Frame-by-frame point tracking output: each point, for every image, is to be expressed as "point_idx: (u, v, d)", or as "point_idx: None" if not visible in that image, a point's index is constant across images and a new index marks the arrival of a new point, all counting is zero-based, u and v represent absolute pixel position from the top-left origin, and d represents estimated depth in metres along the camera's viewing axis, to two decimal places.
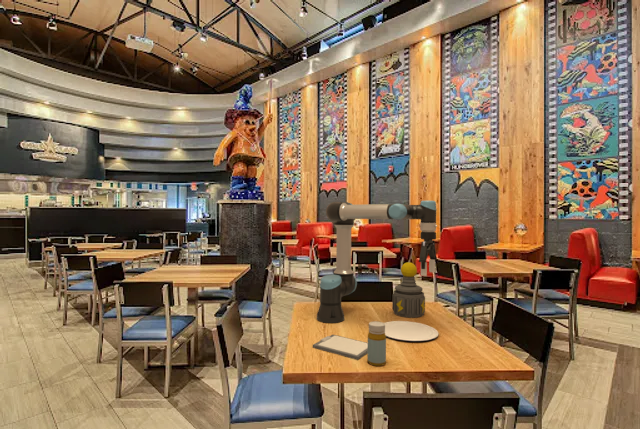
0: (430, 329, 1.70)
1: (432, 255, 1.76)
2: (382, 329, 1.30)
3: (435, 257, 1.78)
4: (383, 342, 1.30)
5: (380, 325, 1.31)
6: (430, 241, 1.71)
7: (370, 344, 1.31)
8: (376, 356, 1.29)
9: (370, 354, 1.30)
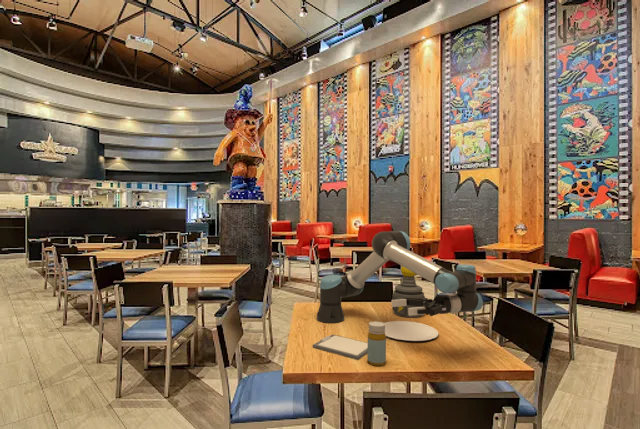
0: (430, 329, 1.70)
1: (412, 303, 1.43)
2: (382, 329, 1.30)
3: (406, 304, 1.46)
4: (383, 342, 1.30)
5: (380, 325, 1.31)
6: None
7: (370, 344, 1.31)
8: (376, 356, 1.29)
9: (370, 354, 1.30)
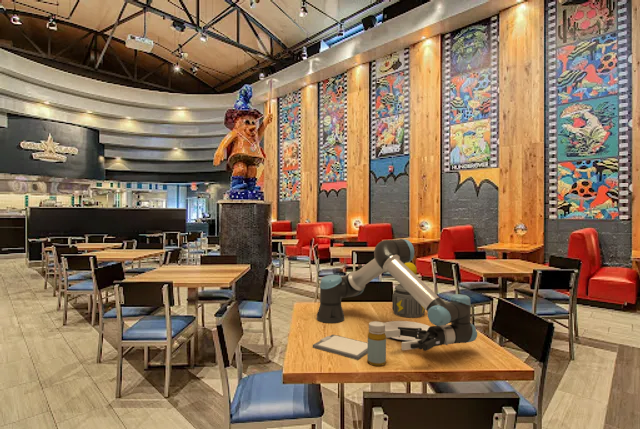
0: None
1: (405, 334, 1.42)
2: (382, 329, 1.30)
3: (400, 334, 1.44)
4: (383, 342, 1.30)
5: (380, 325, 1.31)
6: None
7: (370, 344, 1.31)
8: (376, 356, 1.29)
9: (370, 354, 1.30)
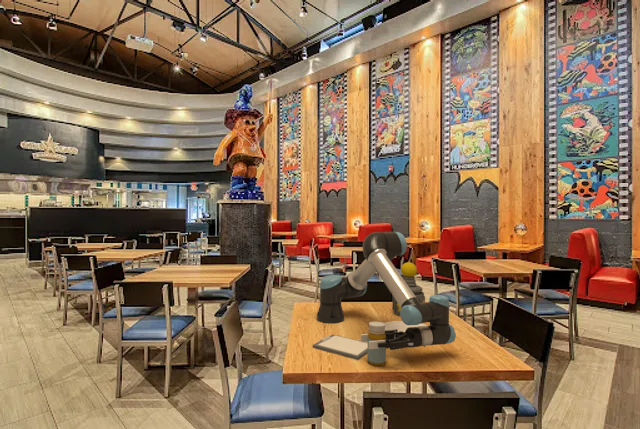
0: None
1: None
2: (382, 329, 1.30)
3: None
4: None
5: (380, 325, 1.31)
6: None
7: None
8: (376, 356, 1.29)
9: (370, 354, 1.30)
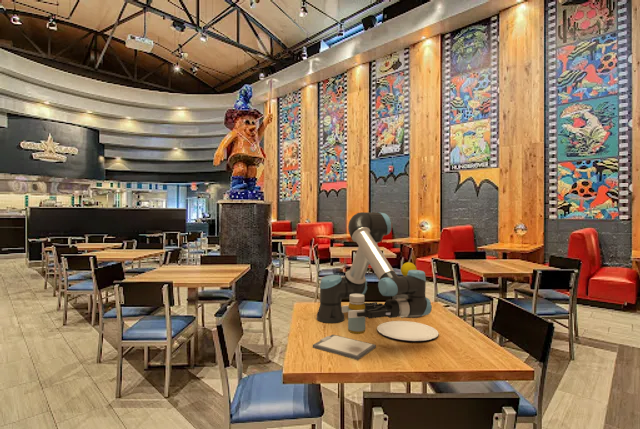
0: (430, 329, 1.70)
1: None
2: (361, 300, 1.39)
3: None
4: None
5: (360, 296, 1.40)
6: None
7: None
8: (355, 324, 1.38)
9: (350, 323, 1.39)
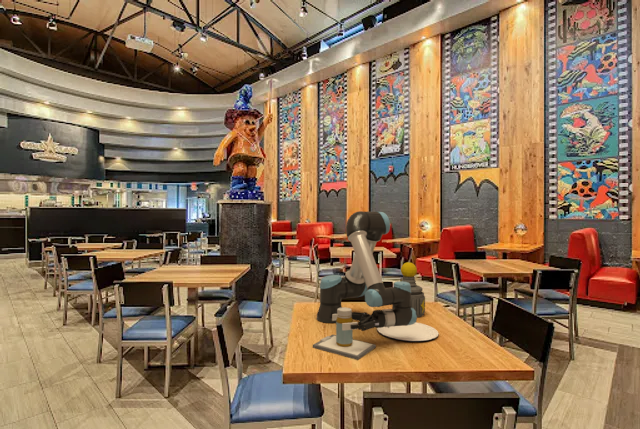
0: (430, 329, 1.70)
1: None
2: (348, 314, 1.45)
3: None
4: None
5: (347, 310, 1.46)
6: None
7: (338, 327, 1.46)
8: (343, 337, 1.44)
9: (338, 336, 1.46)
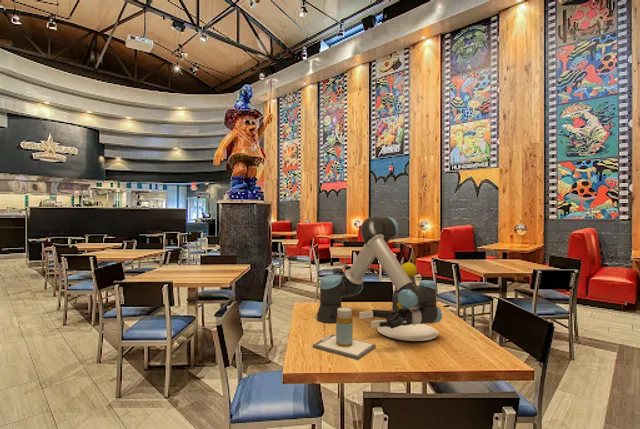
0: (430, 329, 1.70)
1: (378, 315, 1.58)
2: (348, 314, 1.45)
3: None
4: (349, 325, 1.45)
5: (347, 310, 1.46)
6: None
7: (338, 327, 1.46)
8: (343, 337, 1.45)
9: (338, 336, 1.46)
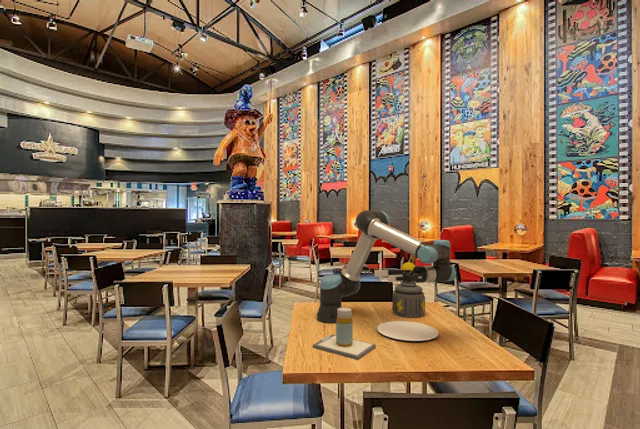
0: (430, 329, 1.70)
1: (393, 274, 1.61)
2: (348, 314, 1.45)
3: (388, 275, 1.63)
4: (349, 325, 1.45)
5: (347, 310, 1.46)
6: None
7: (338, 327, 1.46)
8: (343, 337, 1.45)
9: (338, 336, 1.46)
